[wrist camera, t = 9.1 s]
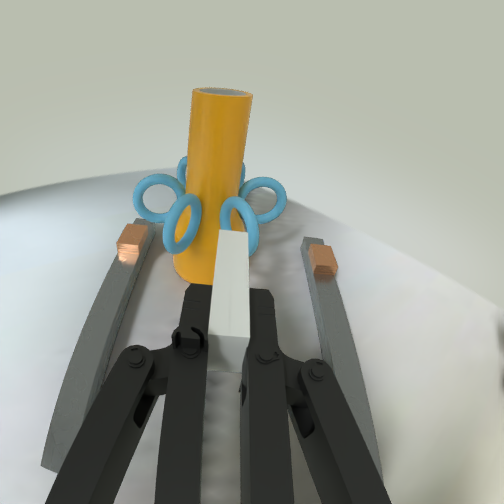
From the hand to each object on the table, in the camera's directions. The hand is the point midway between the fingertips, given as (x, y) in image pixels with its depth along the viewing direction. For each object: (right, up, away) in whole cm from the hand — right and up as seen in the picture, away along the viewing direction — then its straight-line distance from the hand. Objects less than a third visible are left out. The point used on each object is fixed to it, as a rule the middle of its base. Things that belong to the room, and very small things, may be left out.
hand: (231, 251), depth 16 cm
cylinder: (-3, -1, +11) cm, 11 cm away
